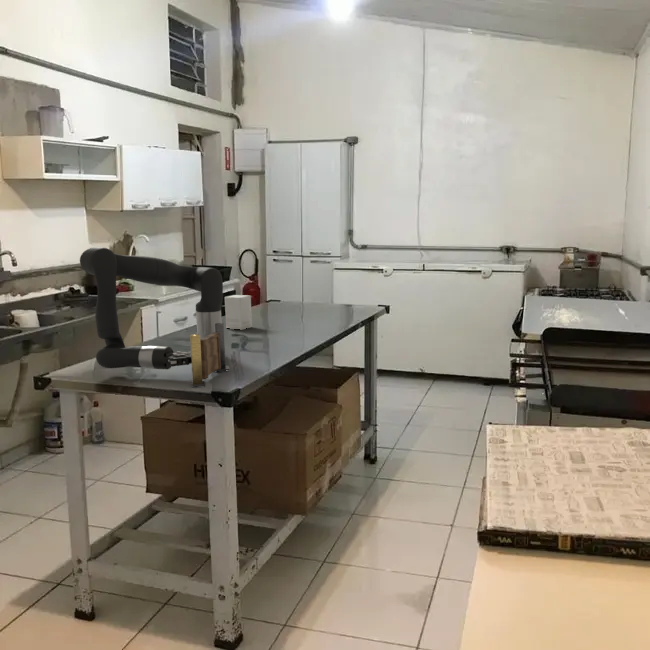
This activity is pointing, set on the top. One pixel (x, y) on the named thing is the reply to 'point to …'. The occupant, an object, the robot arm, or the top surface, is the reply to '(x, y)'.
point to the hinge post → (221, 346)
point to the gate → (210, 354)
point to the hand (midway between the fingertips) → (205, 359)
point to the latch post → (196, 360)
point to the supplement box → (238, 312)
